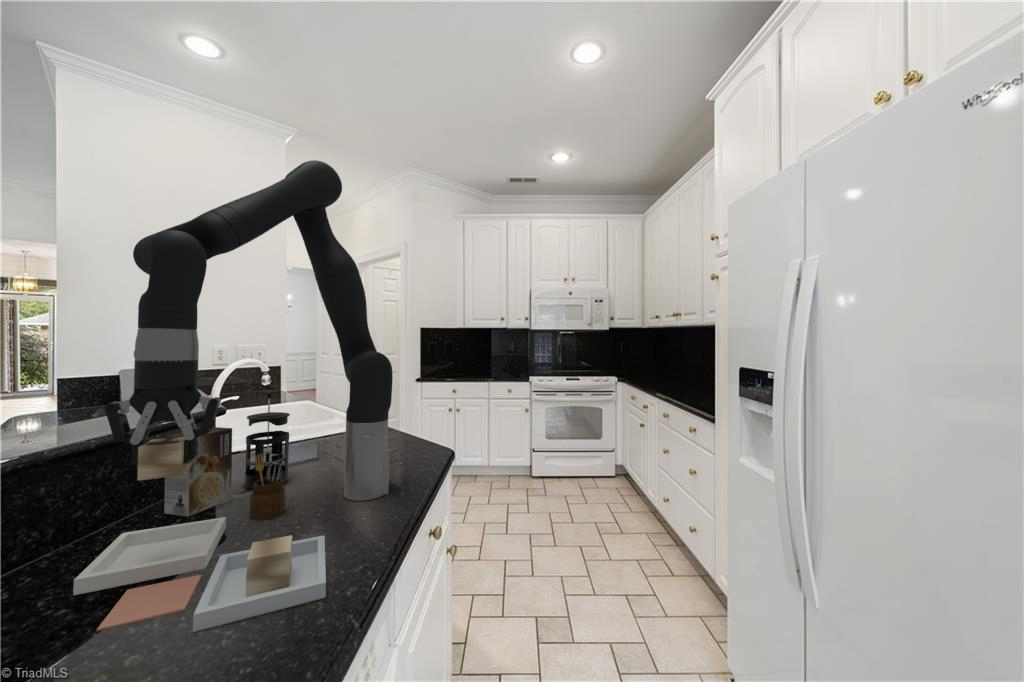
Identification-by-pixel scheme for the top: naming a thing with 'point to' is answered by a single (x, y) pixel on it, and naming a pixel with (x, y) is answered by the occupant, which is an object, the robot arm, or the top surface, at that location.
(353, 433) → the robot arm
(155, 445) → the letter cube
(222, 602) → the blue tray
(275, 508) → the utensil holder
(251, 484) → the french press
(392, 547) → the top surface
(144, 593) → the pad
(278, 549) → the plain cube
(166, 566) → the white tray
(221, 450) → the coffee box
